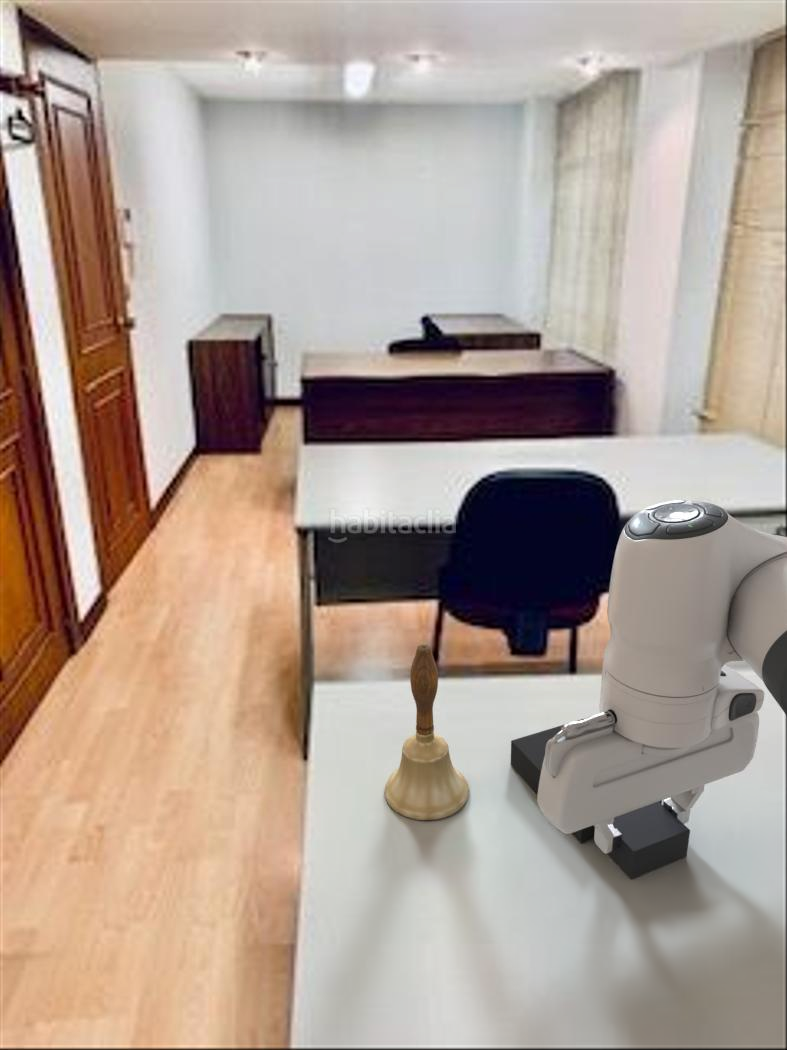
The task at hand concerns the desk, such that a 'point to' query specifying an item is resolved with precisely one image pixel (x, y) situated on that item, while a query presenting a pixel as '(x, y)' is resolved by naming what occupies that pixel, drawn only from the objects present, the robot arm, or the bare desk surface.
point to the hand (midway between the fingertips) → (641, 833)
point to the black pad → (539, 766)
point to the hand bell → (425, 756)
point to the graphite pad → (649, 840)
